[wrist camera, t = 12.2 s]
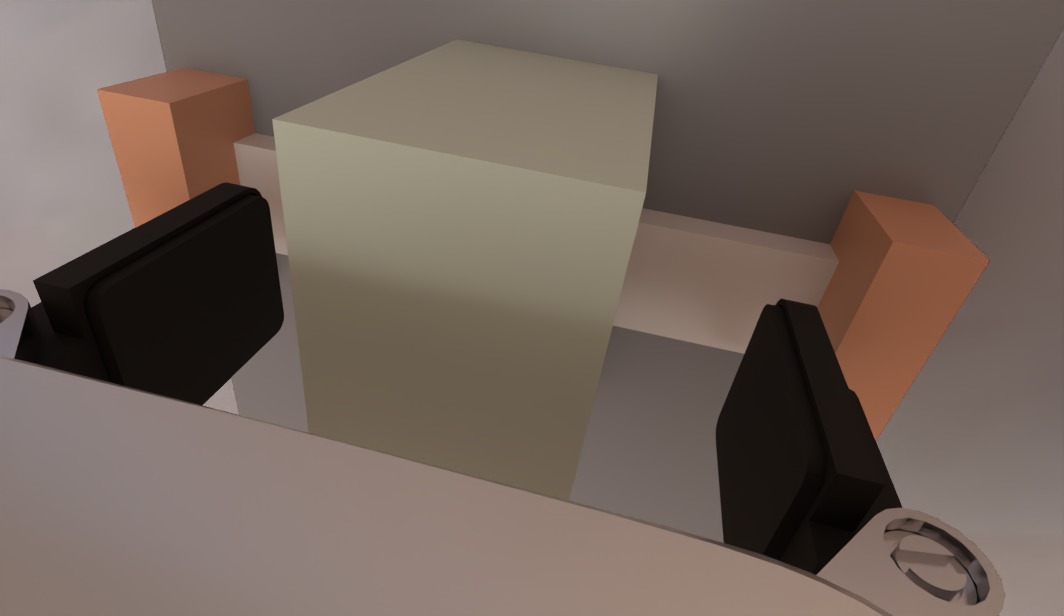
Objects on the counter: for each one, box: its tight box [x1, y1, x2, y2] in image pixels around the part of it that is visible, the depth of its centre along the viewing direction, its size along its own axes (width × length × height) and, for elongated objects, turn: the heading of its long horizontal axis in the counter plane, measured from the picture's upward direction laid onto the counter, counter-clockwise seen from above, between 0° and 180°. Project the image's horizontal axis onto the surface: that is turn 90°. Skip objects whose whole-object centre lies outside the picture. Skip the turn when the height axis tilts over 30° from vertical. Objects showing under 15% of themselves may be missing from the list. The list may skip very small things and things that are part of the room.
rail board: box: [97, 0, 1064, 543], centre depth 13 cm, size 17×18×4 cm
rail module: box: [272, 39, 658, 500], centre depth 11 cm, size 4×8×6 cm, turn 173°
